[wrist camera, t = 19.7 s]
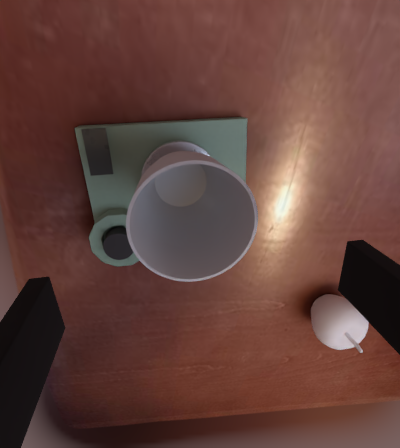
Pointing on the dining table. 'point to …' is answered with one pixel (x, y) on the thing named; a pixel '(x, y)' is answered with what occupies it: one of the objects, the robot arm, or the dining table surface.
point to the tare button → (117, 244)
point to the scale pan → (101, 155)
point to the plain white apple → (338, 322)
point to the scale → (135, 158)
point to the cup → (190, 217)
